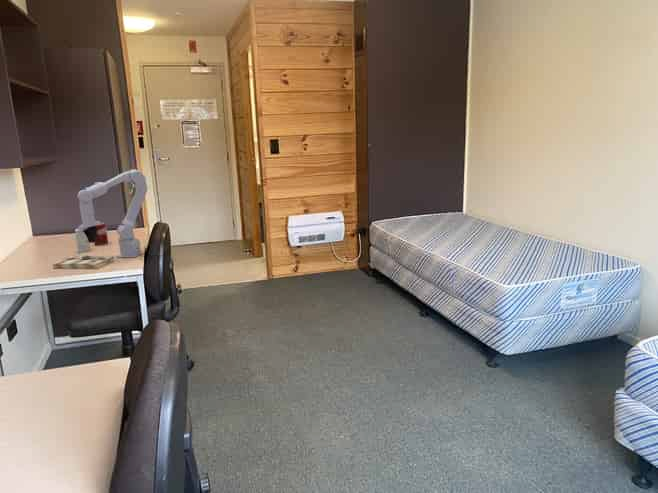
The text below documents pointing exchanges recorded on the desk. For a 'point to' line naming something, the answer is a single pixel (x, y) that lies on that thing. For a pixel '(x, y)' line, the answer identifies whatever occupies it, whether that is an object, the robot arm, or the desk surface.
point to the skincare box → (82, 241)
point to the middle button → (85, 257)
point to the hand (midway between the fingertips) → (92, 242)
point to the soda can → (101, 235)
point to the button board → (83, 263)
